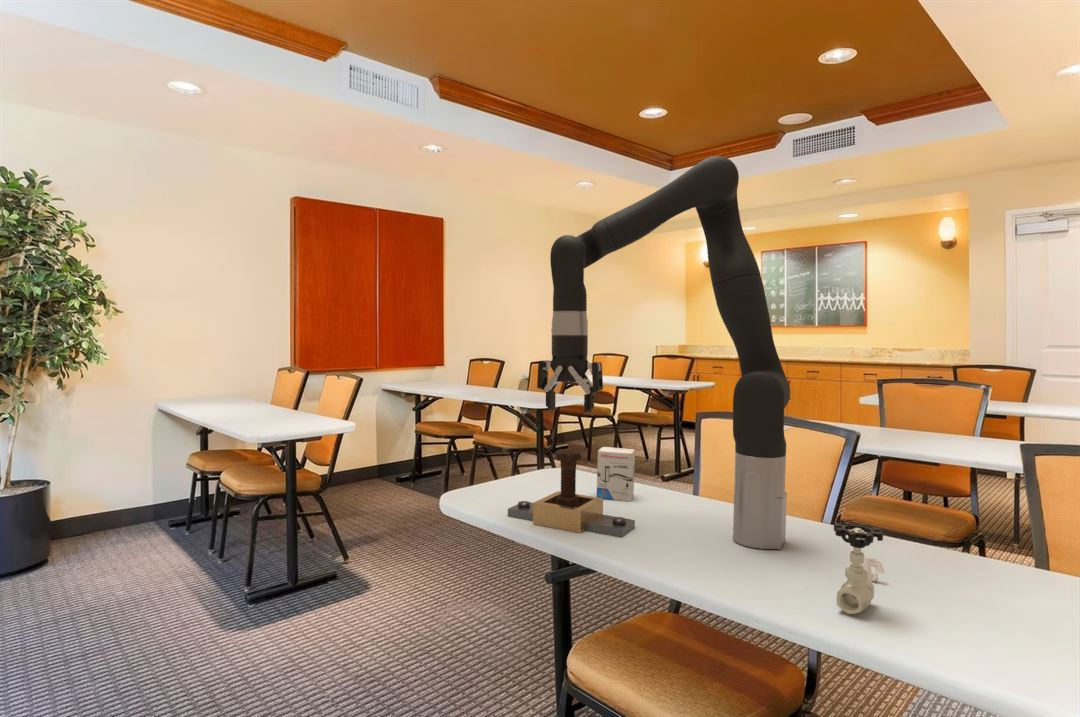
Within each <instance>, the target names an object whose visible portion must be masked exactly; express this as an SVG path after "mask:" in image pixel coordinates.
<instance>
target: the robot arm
mask: <svg viewBox="0 0 1080 717" xmlns="http://www.w3.org/2000/svg"><path fill="white" fill-rule="evenodd" d="M739 179H740V176H739V170H738V167H737V166H736V164H735V163H734V162H733V161H732V160H731V159H729V158H727V157H724V156H722V155H713V156H710V157H707V158H704V159H702V160H701V161H700V162H698V163H697V164H695V165H694V166H692V167H691V168H689V169H687V171H685V172H684V173H682V174H681V175H680V176H678V177H677V178H676V179H674V180H672V181H671V182H669V183H667V184H666V185H664V186H663V187H662V188H660V189H657V190H656V191H654V192H653V193H651V194H649V195H647V196H645V197H643V198H642V199H640V200H638V201H636V202H635V203H633V204H631V205H628V206H626V207H625V208H622V209H620V210H619V211H616V212H614V213H612V214H610V215H608V216H606V217H604V218H601V220H600V219H599V220H598V221H597V222H595V223H594V224H593V225H592V227H591V228H590V229H588V230H586V231H585V232H583V233H581V234H579V235H577V236H574V235H571V234H565V235H561V236H559V237H557V238H556V240H554V242H553V244H552V245H551V248H550V249H551V250H550V270H551V271H550V272H551V279H552V280H551V281H552V286H553V288H552V289H553V292H552V293H553V294H552V318H551V332H550V333H551V357H552V359H551V361H548V360H540V361H538V363H537V364H538V365H537V380H536V381H537V382H536V387H537V388H538V389H539V390H542V391H544V392H545V407H546V408H547V410H548V411H553V410H556V391H555V390H556V388H557V387H558V386H559V384H561V383H565V382H569V383H577V385H578V386H580V387H581V388H582V390H583V392H584V393H585V394H584V395H583V396H584V397H583V398H584V399H583V401H584V402H583V404H584V405H583V411H584V413H591V412H592V410H594V408H595V394H596V393H598V392H602V391H603V390H604V380H603V364H602V362H601V361H594V362H589V361H588V355H589V354H588V353H589V352H588V350H589V348H588V347H589V346H588V344H589V343H588V342H589V341H588V340H589V338H588V336H589V331H588V329H589V323H588V322H589V321H588V315H587V311H588V310H587V308H588V307H587V304H588V303H587V301H588V300H587V296H588V295H587V288H586V286H585V283H584V281H585V279H584V277H585V276H584V275H585V269H587V268H588V267H590V266H592V265H594V264H595V263H597V262H599V261H600V260H602V258H604V257H605V256H607V255H609V254H611V253H613V252H614V253H615V252H616V251H618V250H621V249H623V248H626V247H627V246H630V245H631V244H633V243H635V242H638V241H639V240H641V239H643V238H644V237H646V236H648V235H649V234H651V233H652V232H654V231H655V230H656V229H657V228H659V227H660V226H661V225H663V224H665V223H666V222H667V221H669V220H671V219H672V218H674V217H676V216H678V215H680V214H682V213H684V212H686V211H689V210H691V209H694V208H695V210H696V213H697V216H698V218H699V221H700V224H701V227H702V230H703V234H704V236H705V243H706V249H707V251H706V252H707V260H708V268H709V275H710V281H711V286H712V290H713V293H714V298H715V303H716V307H717V310H718V312H719V316H720V317H721V320H722V323H723V324H724V326H725V327H726V328H725V329H726V330H727V333H728V334H729V336H730V338H731V341H732V343H733V345H734V348H735V351H736V353H737V357H738V362H739V368H740V369H739V370H740V376H741V377H739V379H738V380H737V382H736V384H735V386H734V390H733V397H732V434H733V435H732V436H733V440H734V448H735V450H734V454H735V455H734V484H733V485H734V487H733V488H734V489H733V517H732V518H733V520H732V523H733V524H732V525H733V526H732V539H733V541H734V542H736V543H737V544H740V545H742V546H744V547H749V548H753V549H761V550H781V549H782V548H783V545H785V542H786V535H787V534H786V533H787V532H786V531H787V529H786V528H787V498H788V497H787V496H788V495H787V494H788V493H787V492H786V468H787V467H786V464H787V441H786V438H785V408H786V407H787V405H788V404H789V402H790V398H791V390H790V389H791V387H790V384H789V382H788V381H789V380H788V378H787V377H786V373H785V371H784V368H783V366H782V363H781V361H780V360H781V359H780V357H779V355H778V351H777V348H776V344H775V341H774V336H773V330H772V324H771V318H770V312H769V308H768V306H769V305H768V303H767V296H766V292H765V287H764V282H763V279H762V275H761V272H760V268H759V265H758V262H757V259H756V257H755V255H754V252H753V250H752V248H751V246H750V244H749V241H748V240H747V237H746V235H745V232H744V230H743V226H742V221H741V215H740V209H739V208H740V207H739V202H738V188H739V181H740V180H739ZM550 370H551V371H553V373H552V375H551V377H550V378H549V371H550ZM588 370H589V372H590V373H591V376H592V378H591V379H592V383H591V379H590V378H589V376H588V375H587V371H588Z"/></svg>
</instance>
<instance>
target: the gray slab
mask: <svg viewBox="0 0 1080 717" xmlns="http://www.w3.org/2000/svg"><path fill="white" fill-rule="evenodd" d="M533 503H534V502H531V501H528V500H526V501H525V500H521V501H520V500H519V501H518V503H517V504H515V505H513V506H511V507H509V508H507V517H509V518H510V517H512V518H516V519H520V520H521V519H522V520H527V521H532V522H533Z"/></svg>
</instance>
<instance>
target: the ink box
mask: <svg viewBox="0 0 1080 717" xmlns="http://www.w3.org/2000/svg"><path fill="white" fill-rule="evenodd" d="M635 457H636V449H633V448H624V447H623V448H622V447H610V446H602V447H599V449H598V450H597V465H596V466H597V467H596V468H597V469H596V470H597V471H596V472H597V473H596V497H598V498H603V500H611V499H612V500H611V501H621V502H623V501H624V502H631V501H632V500H633V498H634V488H635V465H636V464H635V461H636V460H635Z"/></svg>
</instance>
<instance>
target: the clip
mask: <svg viewBox="0 0 1080 717" xmlns="http://www.w3.org/2000/svg"><path fill="white" fill-rule="evenodd" d="M861 566H863V567H864V570H866V571H867V572H868V579H867V580H868V581H873V582H874V583H875V581H877V582H878V581H879V575H878V573H880V574H881V573H882V574H885V570H884V567H883V566H884V565H883V563H882V561H881V560H877V558H871V557H869V556H868V557H867V556H865V555H864V563H863V564H861ZM872 567H873V568H875V572H877V573H873V571H872Z"/></svg>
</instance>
